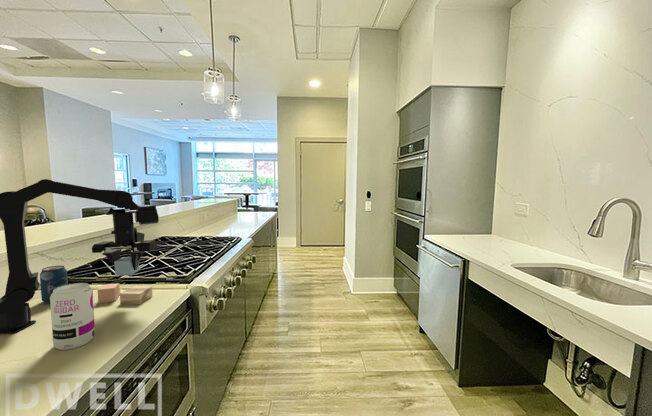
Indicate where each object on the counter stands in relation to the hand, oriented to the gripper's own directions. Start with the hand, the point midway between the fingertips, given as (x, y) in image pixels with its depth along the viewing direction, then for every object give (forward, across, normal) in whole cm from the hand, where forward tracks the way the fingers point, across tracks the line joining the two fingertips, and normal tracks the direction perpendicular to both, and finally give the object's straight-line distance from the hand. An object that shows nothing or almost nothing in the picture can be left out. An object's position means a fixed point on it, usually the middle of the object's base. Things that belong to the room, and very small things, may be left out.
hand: (127, 270), depth 98 cm
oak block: (+12, -1, -2) cm, 12 cm away
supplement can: (+12, -1, +26) cm, 28 cm away
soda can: (+11, +27, -3) cm, 30 cm away
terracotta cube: (+12, +9, -3) cm, 15 cm away
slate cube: (+1, 0, 0) cm, 1 cm away
